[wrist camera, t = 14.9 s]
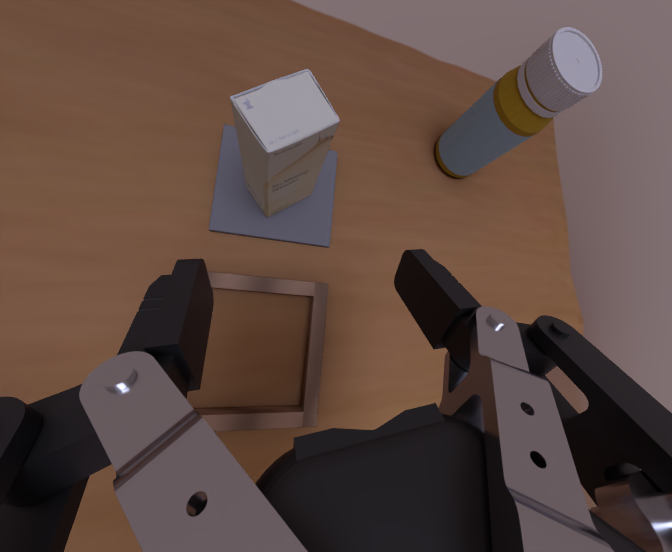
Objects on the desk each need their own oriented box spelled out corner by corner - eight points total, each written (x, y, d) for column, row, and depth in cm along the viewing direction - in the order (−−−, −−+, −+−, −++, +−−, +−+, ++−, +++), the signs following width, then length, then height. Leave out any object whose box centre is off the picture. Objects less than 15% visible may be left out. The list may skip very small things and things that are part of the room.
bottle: (428, 134, 35) (540, 17, 20) (467, 134, 37) (595, 27, 22) (438, 181, 35) (559, 96, 20) (477, 178, 36) (613, 99, 22)
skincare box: (267, 218, 27) (264, 157, 15) (244, 184, 27) (225, 95, 15) (313, 193, 29) (343, 121, 17) (292, 161, 29) (309, 65, 17)
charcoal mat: (210, 231, 26) (209, 229, 26) (225, 127, 28) (224, 124, 27) (328, 247, 29) (329, 246, 29) (336, 154, 31) (337, 151, 30)
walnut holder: (158, 425, 23) (150, 434, 22) (182, 270, 25) (177, 268, 24) (313, 419, 27) (316, 426, 26) (325, 284, 29) (328, 283, 27)
